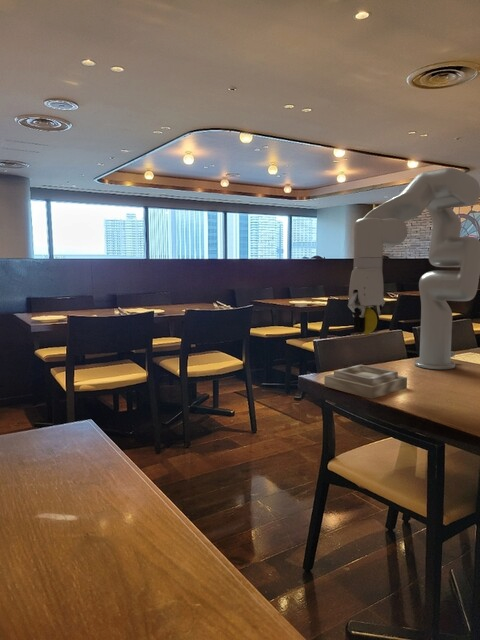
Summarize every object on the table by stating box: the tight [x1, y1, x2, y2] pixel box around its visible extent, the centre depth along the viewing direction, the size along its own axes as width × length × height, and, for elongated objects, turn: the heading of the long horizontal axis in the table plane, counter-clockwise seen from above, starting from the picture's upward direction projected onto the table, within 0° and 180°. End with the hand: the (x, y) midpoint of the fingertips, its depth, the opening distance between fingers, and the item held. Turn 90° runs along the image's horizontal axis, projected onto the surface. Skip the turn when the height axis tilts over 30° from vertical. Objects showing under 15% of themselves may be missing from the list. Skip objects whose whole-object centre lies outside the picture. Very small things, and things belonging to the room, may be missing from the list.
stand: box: [323, 364, 408, 400], centre depth 129 cm, size 16×16×4 cm
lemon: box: [362, 307, 377, 336], centre depth 127 cm, size 6×6×8 cm
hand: (366, 329), depth 127 cm, fingers closed on lemon, 5 cm apart
